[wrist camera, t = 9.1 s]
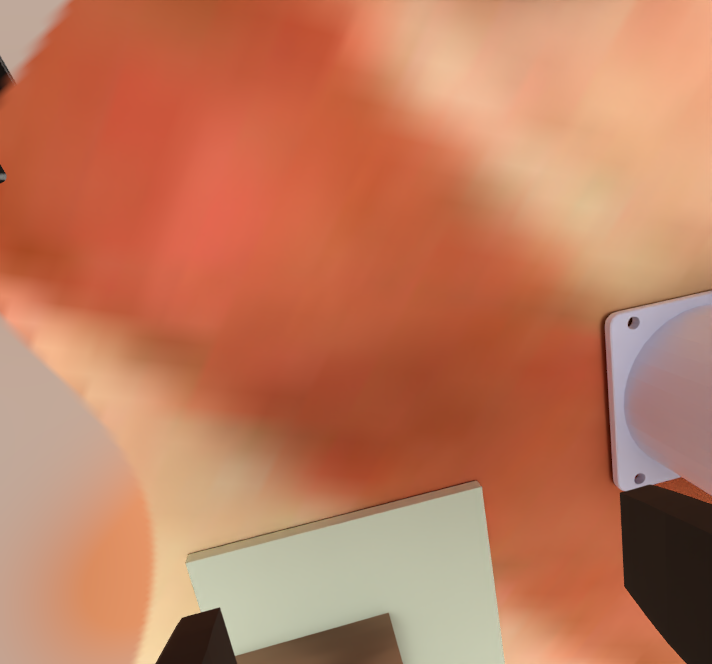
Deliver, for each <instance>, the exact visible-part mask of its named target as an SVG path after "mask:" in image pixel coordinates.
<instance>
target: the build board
mask: <svg viewBox="0 0 712 664" xmlns="http://www.w3.org/2000/svg"><path fill="white" fill-rule="evenodd" d="M186 566H187V570H188V573H189V576H190V579H191V582H192V585H193V589H194V592H195V595H196V598H197V601H198V604H199V608H200V611H201V612H205V611H208V610H212V609H215V608H219V607H220V609H221V612H222V615H223V619H224V622H225V625H226V628H227V632H228V635H229V638H230V642H231V645H232V648H233V651H234V655H235V656H237V655H240V654H244V653H247V652H251V651H255V650H258V649H262V648H265V647H269V646H272V645H276V644H279V643H283V642H286V641H290V640H293V639H297V638H300V637H304V636H308V635H311V634H315V633H318V632H322V631H325V630H329V629H332V628H336V627H339V626H343V625H346V624H350V623H354V622H357V621H361V620H364V619H368V618H371V617H375V616H378V615H382V614H385V613H389V616H390V619H391V623H392V626H393V630H394V634H395V637H396V641H397V644H398V648H399V651H400V655H401V658H402V662H403V664H505V661H504V653H503V645H502V638H501V630H500V622H499V615H498V607H497V599H496V592H495V584H494V576H493V569H492V561H491V554H490V546H489V538H488V531H487V523H486V515H485V508H484V500H483V492H482V486H481V485H480V484H479V482H478V481H477V480H476V481H473V482H469V483H465V484H461V485H457V486H453V487H449V488H445V489H441V490H438V491H434V492H430V493H426V494H422V495H418V496H414V497H410V498H406V499H402V500H399V501H395V502H391V503H387V504H383V505H379V506H375V507H371V508H367V509H364V510H360V511H356V512H352V513H348V514H344V515H340V516H336V517H332V518H329V519H325V520H321V521H317V522H313V523H309V524H305V525H301V526H297V527H294V528H290V529H286V530H282V531H278V532H274V533H270V534H266V535H262V536H259V537H255V538H251V539H247V540H243V541H239V542H235V543H231V544H227V545H223V546H220V547H216V548H212V549H208V550H204V551H200V552H196V553H192V554H188V556H187V560H186Z"/></svg>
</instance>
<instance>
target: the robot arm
mask: <svg viewBox="0 0 712 664" xmlns="http://www.w3.org/2000/svg"><path fill="white" fill-rule="evenodd" d="M631 317H632V319H633V321H632V324H631V325H630V326H629V327H628V321H629V319H630V318H631ZM605 340H606V358H607V376H608V395H609V413H610V431H611V449H612V468H613V481H614V484H615V485H616V486H617V487H618V488H619V489H621V490H622V491H625V492H621V493H620V505H621V526H622V546H623V567H624V587H625V588H626V589H627V591H628V592H629V593H630V595H631V596H632V597H633V599H634V600H635V601H636V603H637V604H638V605H639V607H640V608H641V609H642V611H643V612H644V613H645V615H646V616H647V617H648V619H649V620H650V621H651V622H652V624H653V625H654V626H655V628H656V629H657V630H658V631H659V633H660V634H661V635H662V636H663V638H664V639H665V640H666V641H667V643H668V644H669V645H670V646H671V647H672V648H673V649H674V650H675V652H676V653H677V654H678V655H679V656H680V657H681V658H682V659H683V660H684V661H685V662H686V663H687V664H712V504H709V503H706V502H703V501H701V500H698V499H695V498H692V497H689V496H686V495H683V494H680V493H677V492H674V491H671V490H668V489H664V488H661V487H658V486H654V484H657V483H661V482H665V481H668V480H672V479H676V478H679V477H682V478H684V479H686V480H687V481H689V482H690V483H692V484H694V485H695V486H697V487H699V488H700V489H702V490H703V491H705V492H707V493H708V494H710V495H711V496H712V290H711V291H707V292H702V293H698V294H693V295H689V296H684V297H680V298H675V299H671V300H667V301H662V302H658V303H653V304H649V305H644V306H640V307H635V308H631V309H626V310H622V311H617V312H614V313H612V314H611V315H609V316H608V318H607V320H606V321H605ZM637 474H638V476H637V478H635V476H636V475H637ZM156 664H237V661H236V658H235V655H234V651H233V648H232V645H231V642H230V638H229V635H228V632H227V628H226V625H225V622H224V619H223V615H222V612H221V609H220V607H219V608H215V609H212V610H208V611H205V612H201V613H198V614H194V615H191V616H187V617H184V618H182V619H181V620H180V622H179V623H178V625H177V626H176V628H175V630H174V631H173V633H172V635H171V637H170V638H169V640H168V642H167V644H166V646H165V647H164V649H163V651H162V653H161V655H160V656H159V658H158V660H157V662H156Z"/></svg>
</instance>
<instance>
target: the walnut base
mask: <svg viewBox="0 0 712 664" xmlns="http://www.w3.org/2000/svg"><path fill="white" fill-rule="evenodd" d="M235 658H236V661H237V664H403V662H402V658H401V655H400V651H399V648H398V644H397V641H396V637H395V634H394V630H393V626H392V623H391V619H390V616H389V613H385V614H382V615H378V616H375V617H371V618H368V619H364V620H361V621H357V622H354V623H350V624H346V625H343V626H339V627H336V628H332V629H329V630H325V631H322V632H318V633H315V634H311V635H308V636H304V637H300V638H297V639H293V640H290V641H286V642H283V643H279V644H276V645H272V646H269V647H265V648H262V649H258V650H255V651H251V652H247V653H244V654H240V655H237V656H235Z"/></svg>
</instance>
